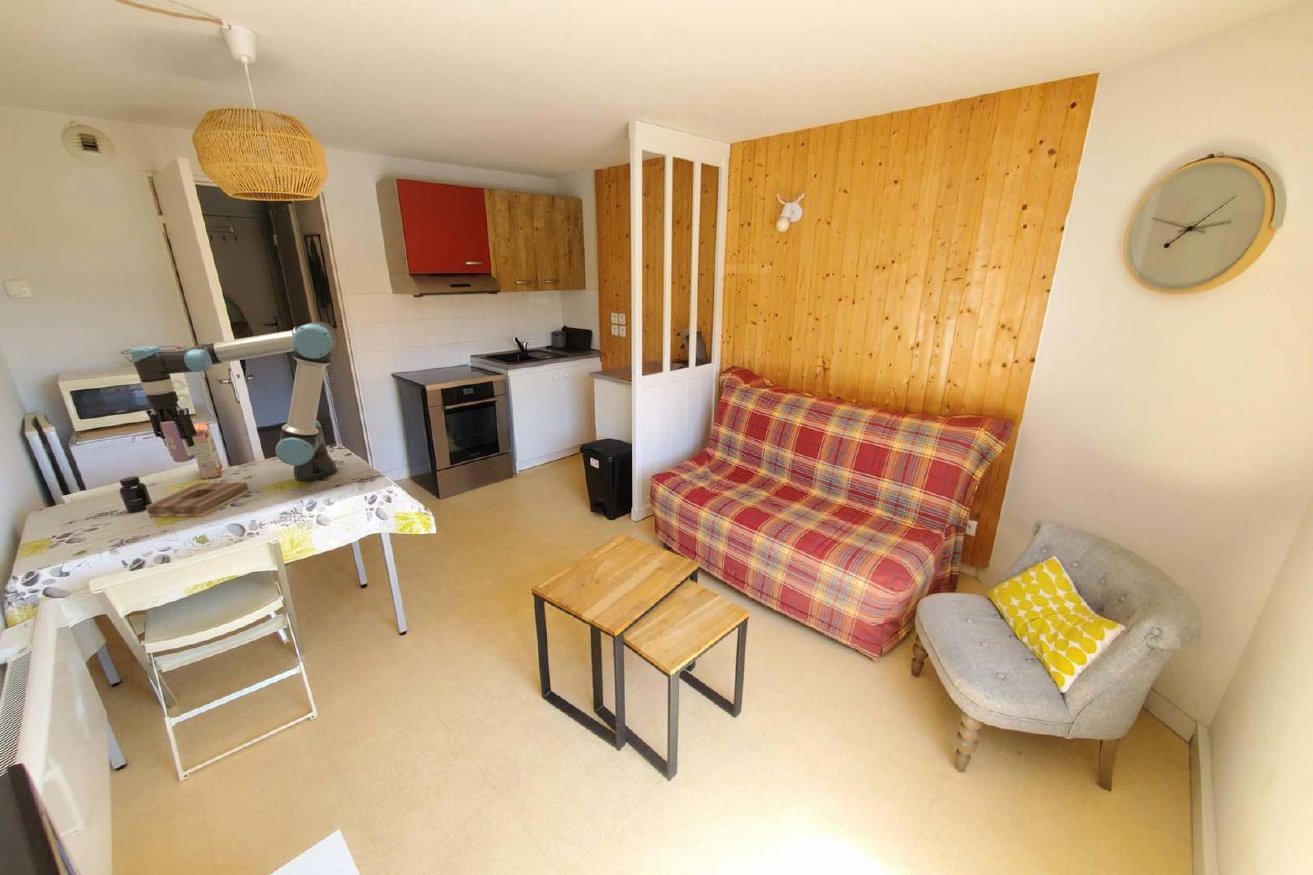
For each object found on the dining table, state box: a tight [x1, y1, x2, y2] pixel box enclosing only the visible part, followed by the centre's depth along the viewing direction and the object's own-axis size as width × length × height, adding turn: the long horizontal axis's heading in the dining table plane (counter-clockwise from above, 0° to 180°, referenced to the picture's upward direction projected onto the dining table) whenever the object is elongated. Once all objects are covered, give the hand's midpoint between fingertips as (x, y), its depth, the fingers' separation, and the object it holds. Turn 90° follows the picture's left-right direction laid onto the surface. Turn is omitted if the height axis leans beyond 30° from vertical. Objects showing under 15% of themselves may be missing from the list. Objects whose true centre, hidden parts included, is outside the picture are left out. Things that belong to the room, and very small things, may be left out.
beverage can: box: [160, 420, 196, 463], centre depth 178 cm, size 6×6×15 cm
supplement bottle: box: [119, 475, 153, 513], centre depth 182 cm, size 7×7×12 cm
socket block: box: [145, 481, 250, 518], centre depth 186 cm, size 20×20×4 cm
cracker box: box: [192, 422, 223, 480], centre depth 212 cm, size 14×6×21 cm, turn 36°
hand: (183, 454), depth 180 cm, fingers closed on beverage can, 6 cm apart
